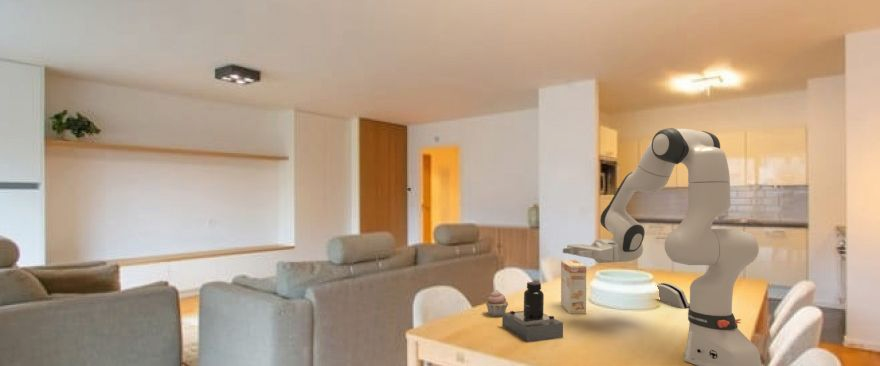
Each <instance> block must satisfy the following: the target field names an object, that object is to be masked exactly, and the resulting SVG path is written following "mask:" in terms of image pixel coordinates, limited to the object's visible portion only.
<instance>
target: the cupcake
mask: <svg viewBox="0 0 880 366" xmlns="http://www.w3.org/2000/svg"><path fill="white" fill-rule="evenodd" d="M485 305H486V307H487V312H488V315H489V316H491V317H494V318H495V317H498V318H499V317H500V318H501V317H502V313H506V311H507V308H508V305H509V303H508V301H507V299H506V297H505V295H504V294H503V293H501V292H500V291H499V290H498V289H495V290H493V291H491V293H490V294H489V296H488V297H487V301H485Z"/></svg>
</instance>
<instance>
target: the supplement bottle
mask: <svg viewBox="0 0 880 366" xmlns="http://www.w3.org/2000/svg"><path fill="white" fill-rule="evenodd" d="M541 289H542V283H540V282H536V281H528V282H527V283H526V289H525V291H524V292H523V311H524V317H525V318H528V319H533V320H538V319H542V318H543V313H544V299H545V298H544V297H545V296H544V292H543V291H542V290H541Z"/></svg>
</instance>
